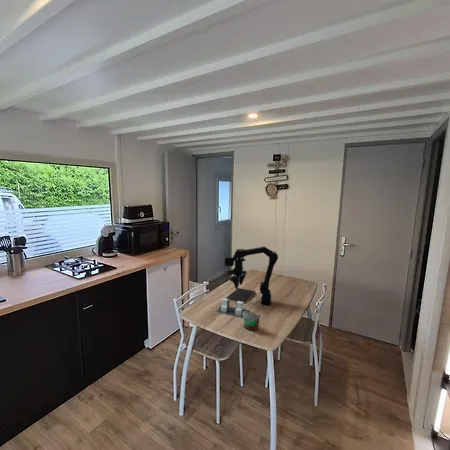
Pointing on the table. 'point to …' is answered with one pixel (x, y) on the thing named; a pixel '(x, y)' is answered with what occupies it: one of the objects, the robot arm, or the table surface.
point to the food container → (250, 320)
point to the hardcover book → (241, 295)
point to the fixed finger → (225, 304)
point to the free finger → (239, 308)
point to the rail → (230, 311)
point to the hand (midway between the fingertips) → (238, 286)
